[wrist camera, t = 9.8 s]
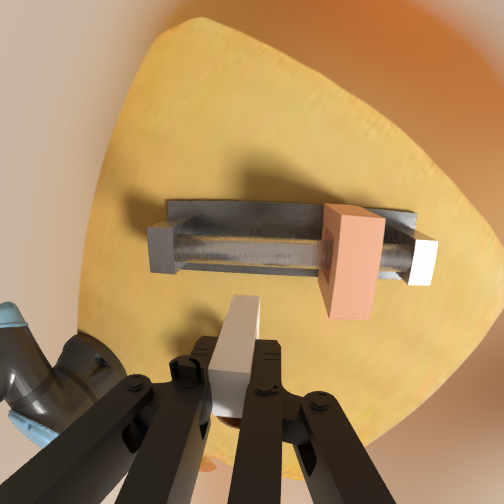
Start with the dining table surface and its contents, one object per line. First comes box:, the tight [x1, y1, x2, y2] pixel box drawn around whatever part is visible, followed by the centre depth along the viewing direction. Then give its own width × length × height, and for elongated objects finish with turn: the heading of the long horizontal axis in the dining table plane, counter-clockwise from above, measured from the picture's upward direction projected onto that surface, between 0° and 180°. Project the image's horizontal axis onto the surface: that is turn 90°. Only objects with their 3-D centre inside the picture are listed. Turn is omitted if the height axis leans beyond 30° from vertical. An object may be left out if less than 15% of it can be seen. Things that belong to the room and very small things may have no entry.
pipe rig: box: [147, 200, 438, 285], centre depth 30 cm, size 32×9×8 cm, turn 89°
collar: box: [318, 203, 386, 320], centre depth 27 cm, size 4×10×10 cm, turn 179°
